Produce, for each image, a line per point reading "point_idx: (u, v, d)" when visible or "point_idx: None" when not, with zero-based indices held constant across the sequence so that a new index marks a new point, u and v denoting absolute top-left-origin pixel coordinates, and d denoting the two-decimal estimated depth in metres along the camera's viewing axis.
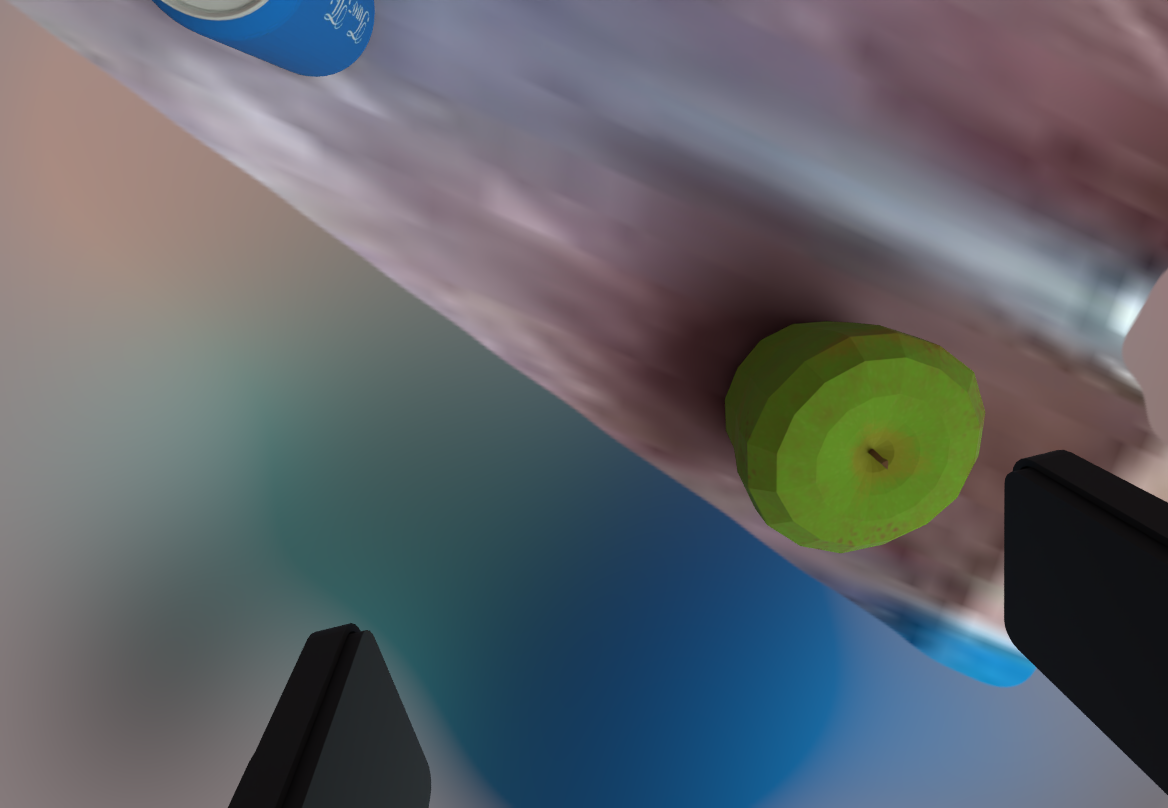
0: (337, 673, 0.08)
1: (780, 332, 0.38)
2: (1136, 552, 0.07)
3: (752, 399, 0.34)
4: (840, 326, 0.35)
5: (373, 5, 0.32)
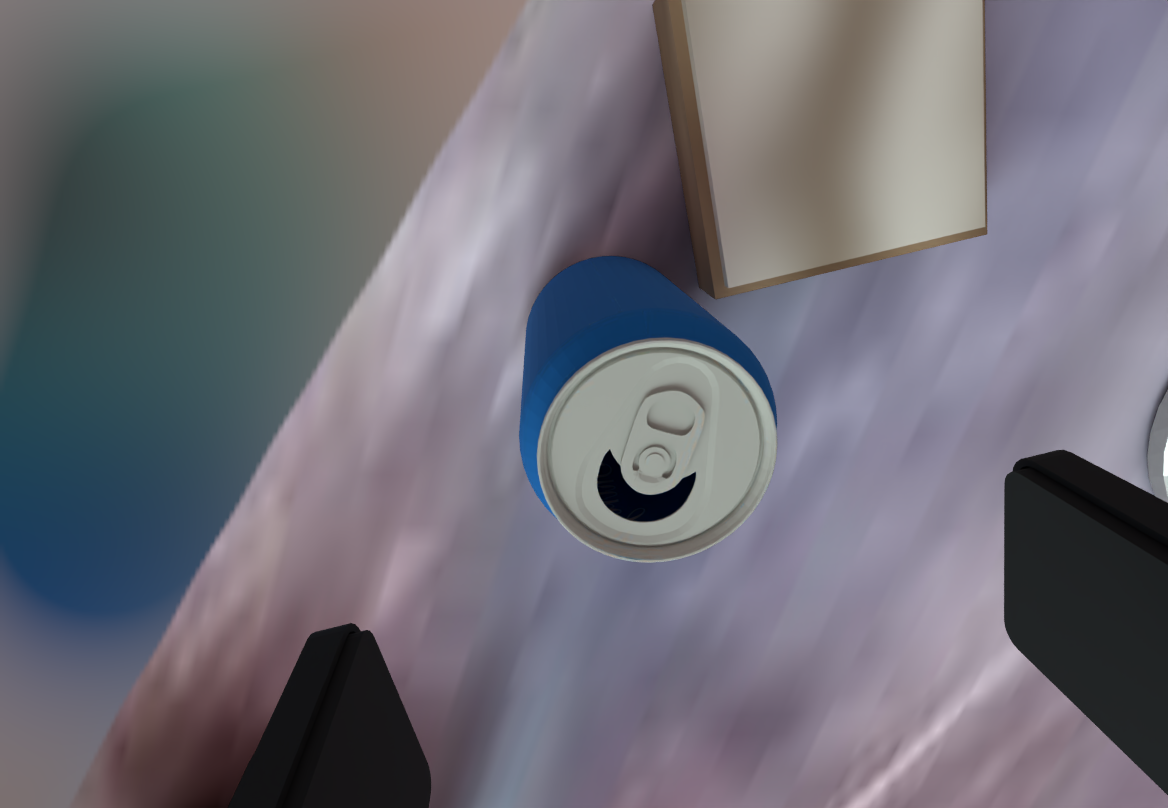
0: (337, 673, 0.08)
1: None
2: (1136, 552, 0.07)
3: None
4: None
5: None
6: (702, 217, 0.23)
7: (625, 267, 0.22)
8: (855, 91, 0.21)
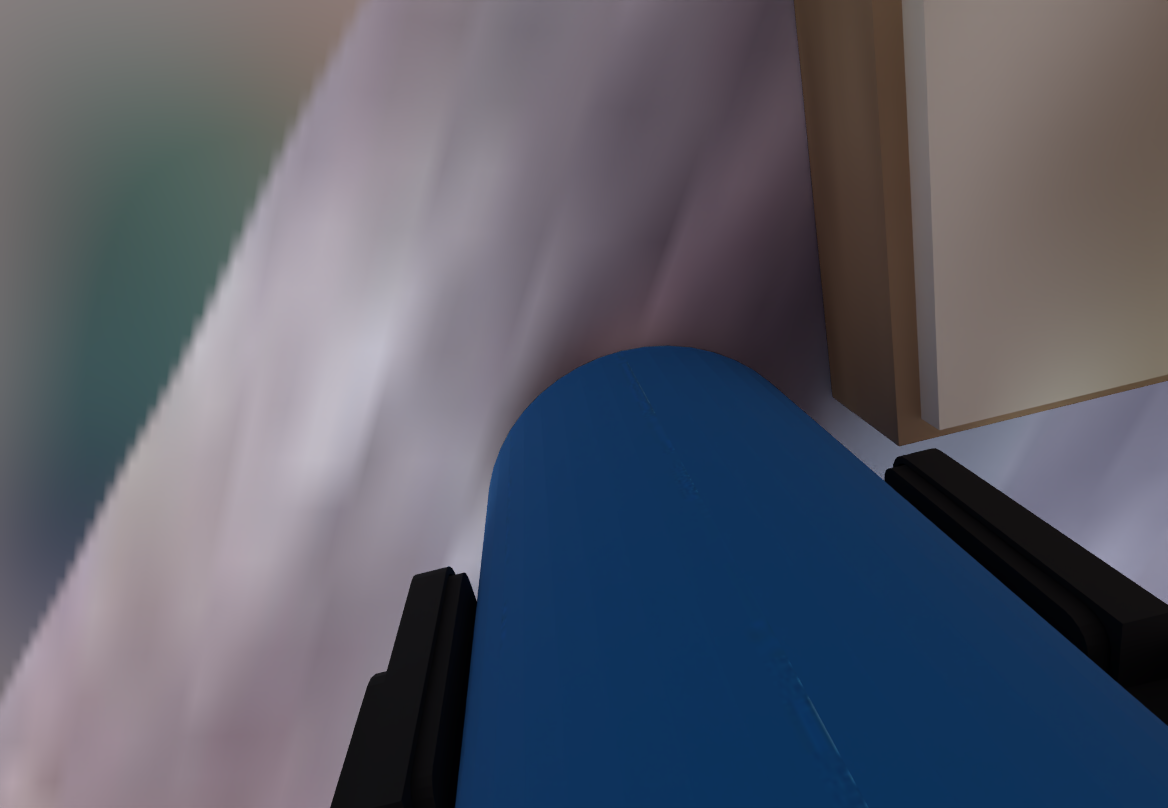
0: (446, 606, 0.09)
1: None
2: (973, 540, 0.08)
3: None
4: None
5: None
6: (887, 273, 0.10)
7: (721, 403, 0.09)
8: None
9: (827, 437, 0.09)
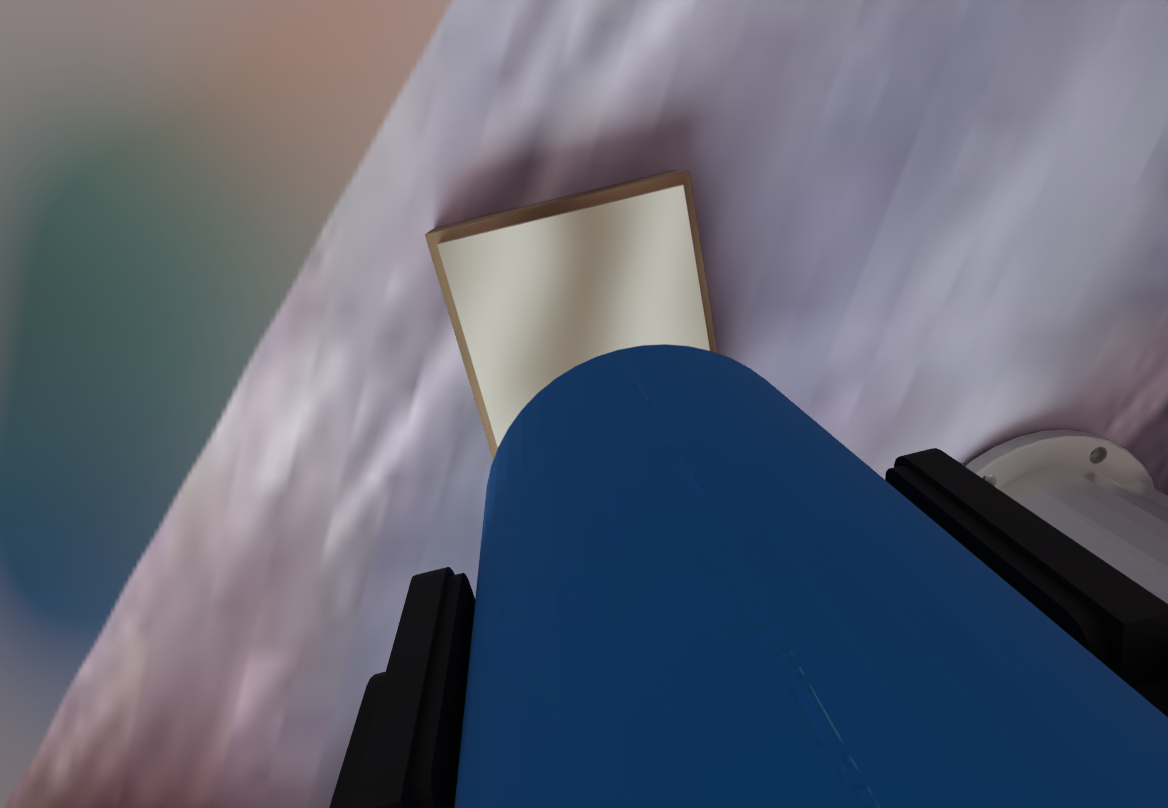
0: (446, 607, 0.09)
1: None
2: (974, 540, 0.08)
3: None
4: None
5: None
6: (478, 408, 0.27)
7: (719, 400, 0.09)
8: (593, 314, 0.25)
9: (825, 434, 0.09)
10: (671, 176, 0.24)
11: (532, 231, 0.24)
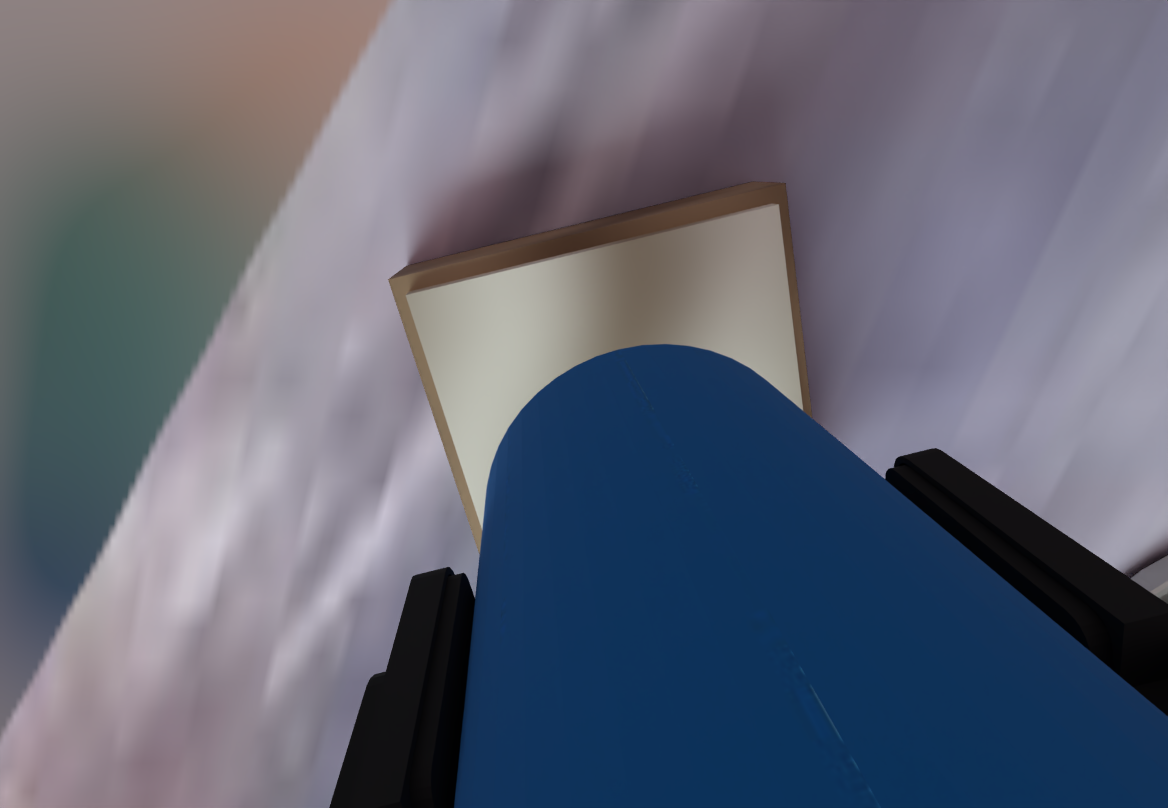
0: (445, 607, 0.09)
1: None
2: (974, 540, 0.08)
3: None
4: None
5: None
6: (470, 523, 0.18)
7: (719, 399, 0.09)
8: None
9: (825, 434, 0.09)
10: (758, 191, 0.16)
11: (549, 275, 0.16)
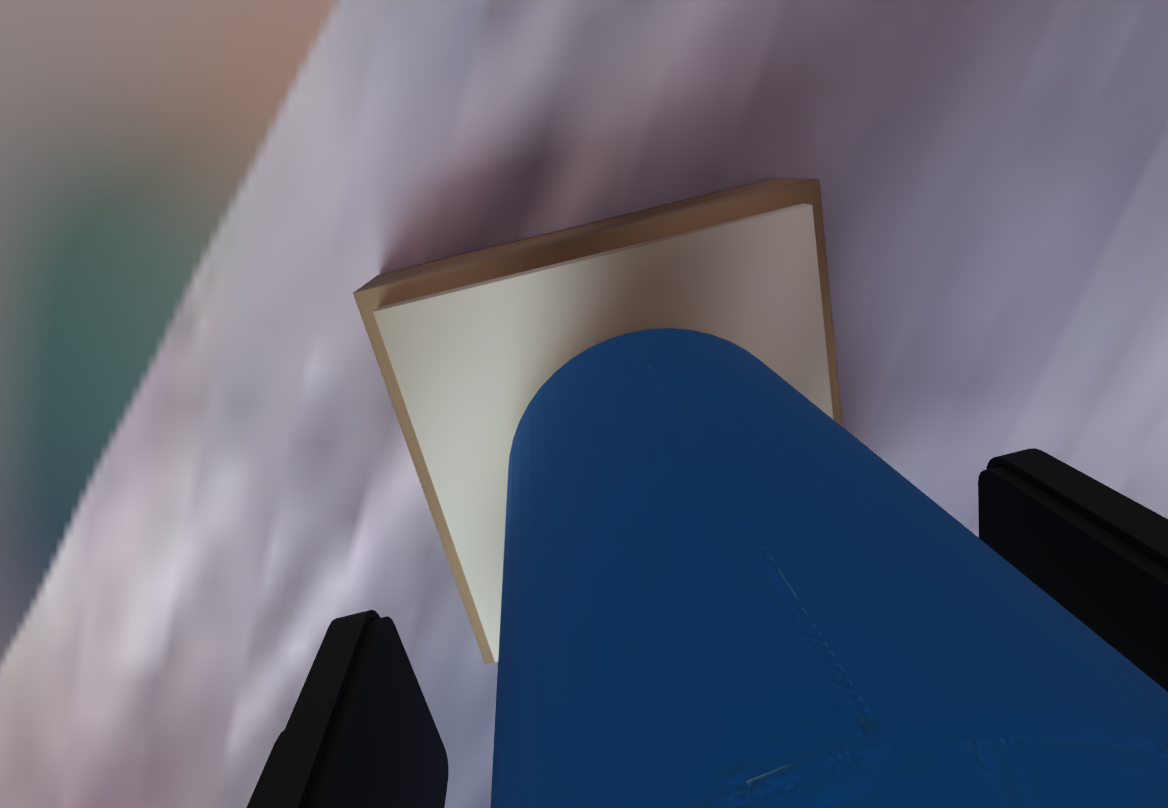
0: (360, 657, 0.08)
1: None
2: (1099, 548, 0.07)
3: None
4: None
5: None
6: (453, 570, 0.16)
7: (717, 373, 0.10)
8: None
9: (808, 403, 0.10)
10: (787, 189, 0.14)
11: (543, 287, 0.13)
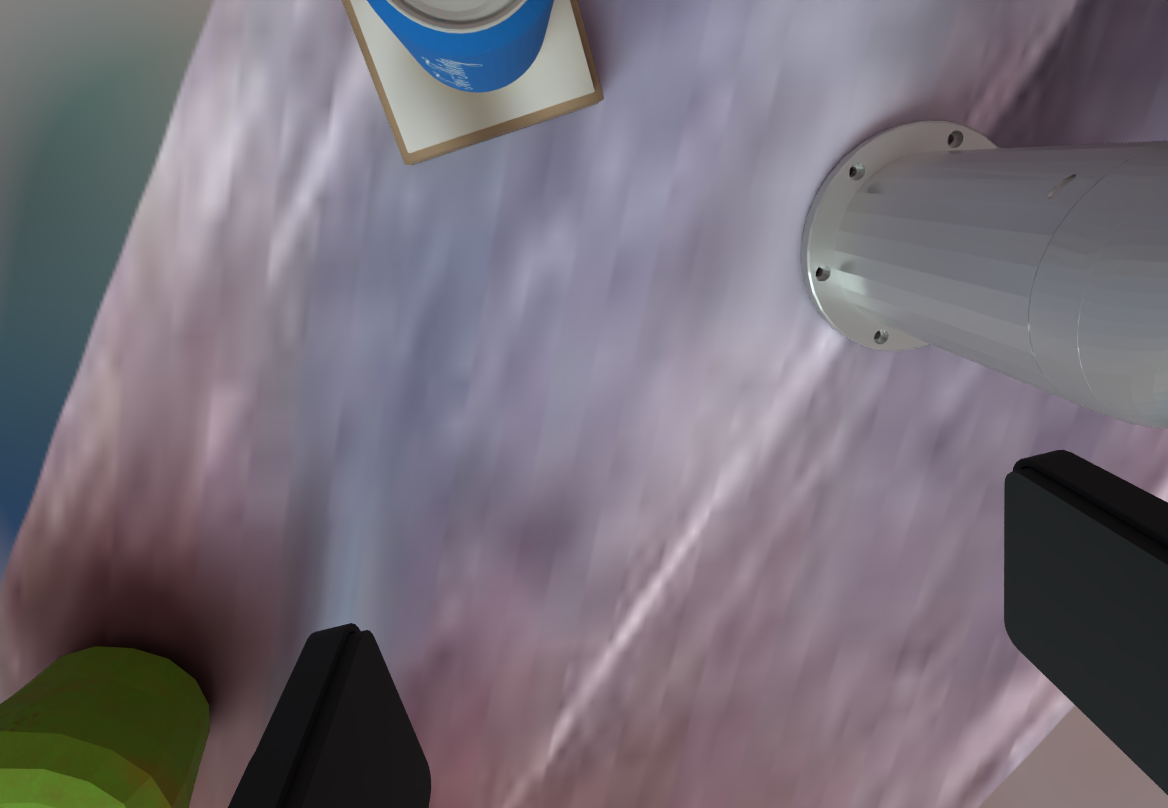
0: (337, 673, 0.08)
1: (181, 674, 0.40)
2: (1136, 552, 0.07)
3: (69, 705, 0.34)
4: (185, 739, 0.38)
5: (485, 91, 0.29)
6: (381, 100, 0.30)
7: None
8: None
9: None
10: None
11: None
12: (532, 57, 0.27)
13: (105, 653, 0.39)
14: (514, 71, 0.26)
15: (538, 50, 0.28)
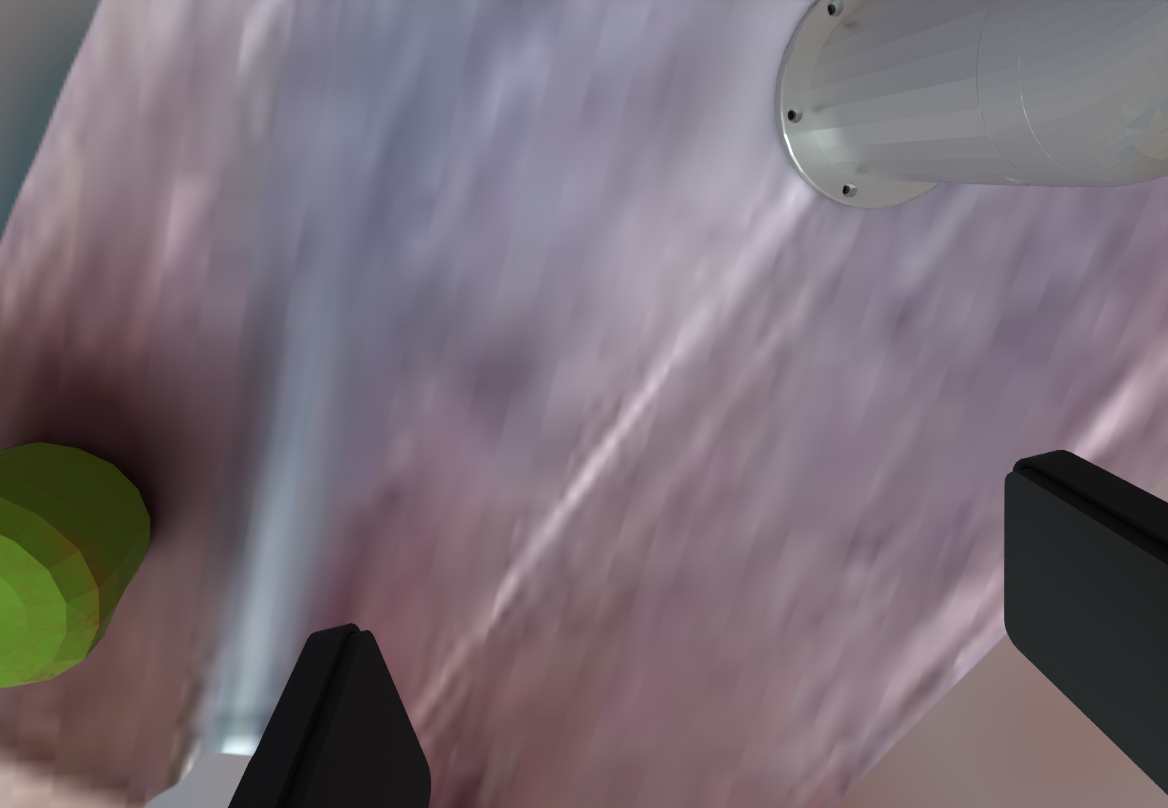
0: (337, 673, 0.08)
1: (124, 480, 0.40)
2: (1136, 552, 0.07)
3: (3, 474, 0.34)
4: (120, 535, 0.37)
5: None
6: None
7: None
8: None
9: None
10: None
11: None
12: None
13: (48, 447, 0.38)
14: None
15: None
